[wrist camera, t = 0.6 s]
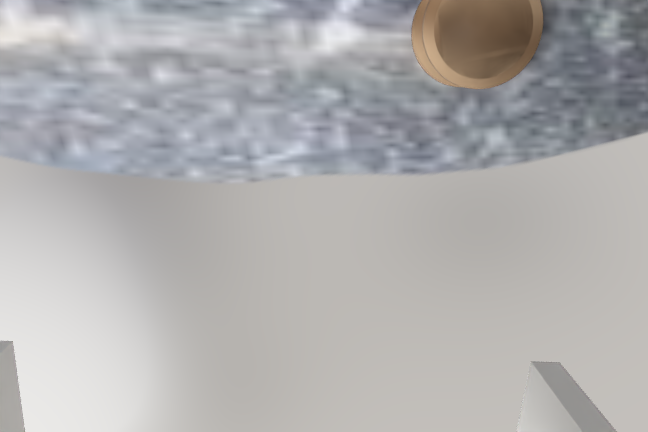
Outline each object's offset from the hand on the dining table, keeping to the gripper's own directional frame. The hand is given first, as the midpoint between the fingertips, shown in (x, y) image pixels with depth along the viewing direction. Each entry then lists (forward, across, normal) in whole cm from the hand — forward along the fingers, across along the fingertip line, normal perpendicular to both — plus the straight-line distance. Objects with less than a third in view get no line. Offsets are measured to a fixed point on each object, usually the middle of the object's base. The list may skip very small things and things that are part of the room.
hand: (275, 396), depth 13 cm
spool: (+25, +11, +11) cm, 29 cm away
